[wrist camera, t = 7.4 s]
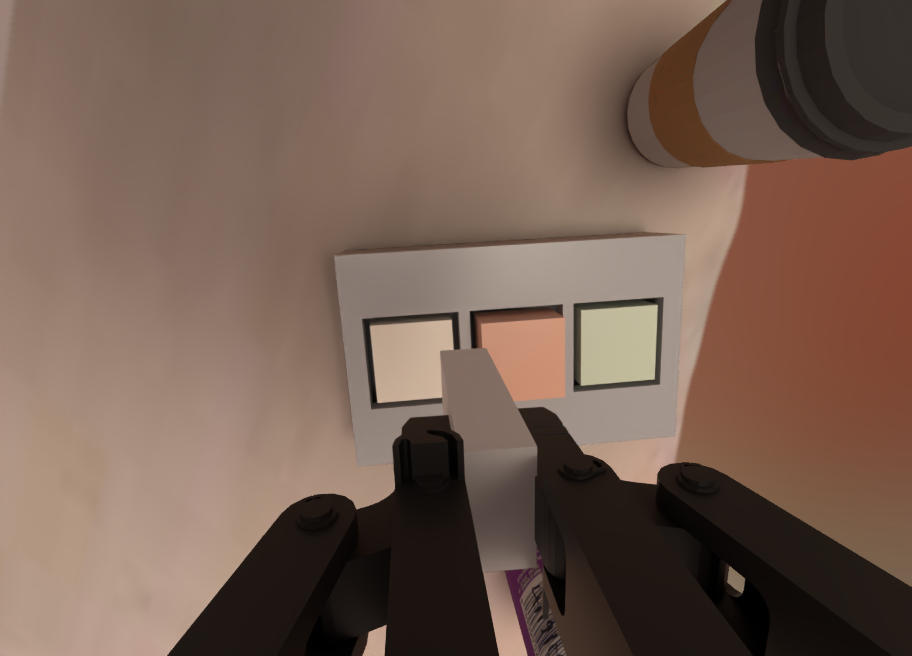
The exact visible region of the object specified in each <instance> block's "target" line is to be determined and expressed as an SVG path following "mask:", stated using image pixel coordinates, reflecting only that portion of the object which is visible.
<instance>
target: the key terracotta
mask: <svg viewBox="0 0 912 656" xmlns="http://www.w3.org/2000/svg"><path fill="white" fill-rule="evenodd" d="M474 327H475V348H487V350H488V352H489V354H490V356H491V358H492V360H493V362H494V364H495V366H496V368H497V370H498V372H499V374H500V375H501V377H502V379H503V381H504V383H505V385H506V387H507V389H508V391H509V393H510V395H511V397H512V399H513V401H526V400H537V399H549V398H560V397H565V317H563V316H562V315H560V314H558V313H557V312H555V311H554V310H552V309H551V308H549V307H547V308H534V309H520V310H506V311H492V312H478V313H474Z"/></svg>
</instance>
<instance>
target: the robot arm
mask: <svg viewBox="0 0 912 656" xmlns="http://www.w3.org/2000/svg"><path fill="white" fill-rule="evenodd" d="M440 361H441V382H442V403H443V415H440V416H425V417H411V418H410V419H409V420H408V421H407V422H406V423H405V424H404V425H403V426H402V434H401V435H400V436H399V437H397V438H396V439H395V441H394V443H393V445H392V451H393V463H394V476H395V490H394V492H393V493H392V494H390V495H389V496H388V497H387V498H385V499H383V500H382V501H380V502H378V503H375V504H373V505H370V506H367V507H364V508H360V509H357V510H356V508H355V505H354V503H353V501H351V500H350V499H348V498H347V497H345V496H342V495H337V494H318V495H314V496H310V497H307V498H304V499H302V500H300V501H298V502H296V503H294V504H292V505H290V506H289V507H288V508H287V509H286V510H285V511H284V512H283V513H281V515H280V516H279V517H278V518H277V520H276V521H275V522H274V523H273V525H272V526H271V527H270V528H269V530H268V531H267V532H266V533H265V534H264V536H263V537H262V538H261V539H260V541H259V542H258V543H257V544H256V546H255V547H254V548H253V549H252V551H251V552H250V553H249V554H248V556H247V557H246V558H245V559H244V561H243V562H242V563H241V564H240V566H239V567H238V568H237V569H236V571H235V572H234V573H233V574H232V576H231V577H230V578H229V579H228V581H227V582H226V583H225V584H224V586H223V587H222V588H221V589H220V590H219V592H218V593H217V594H216V595H215V597H214V598H213V599H212V600H211V602H210V603H209V604H208V605H207V607H206V608H205V609H204V610H203V612H202V613H201V614H200V615H199V617H198V618H197V619H196V620H195V622H194V623H193V624H192V625H191V627H190V628H189V629H188V630H187V632H186V633H185V634H184V635H183V637H182V638H181V639H180V640H179V641H178V643H177V644H176V645H175V646H174V648H173V649H172V650H171V651H170V653H169V654H168V655H167V656H362V655H363V653H364V650H365V647H366V645H367V639H368V633H369V632H370V631H372V630H375V629H377V628H379V627H382V626H384V625H387V627H386V643H385V656H499V653H498V648H497V643H496V637H495V632H494V627H493V622H492V617H491V611H490V606H489V601H488V596H487V591H486V586H485V580H484V575H483V573H485V572H495V571H505V570H516V569H526V568H536V565H537V547H538V550H539V553H540V556H541V558H542V561H543V570H542V614H543V620H544V619H549V607H550V609H551V612H552V615H553V617H554V620H555V623H556V626H557V629H558V632H559V635H560V638H561V641H562V644H563V647H564V650H565V653H566V656H912V587H911V586H909V585H907V584H905V583H904V582H902V581H901V580H899V579H897V578H895V577H894V576H892V575H891V574H889V573H887V572H886V571H884V570H882V569H881V568H879V567H878V566H876V565H874V564H872V563H871V562H869V561H868V560H866V559H864V558H863V557H861V556H859V555H858V554H856V553H854V552H853V551H851V550H849V549H848V548H846V547H844V546H843V545H841V544H839V543H838V542H836V541H834V540H833V539H831V538H830V537H828V536H826V535H825V534H823V533H821V532H820V531H818V530H816V529H815V528H813V527H811V526H810V525H808V524H806V523H805V522H803V521H801V520H800V519H798V518H796V517H795V516H793V515H792V514H790V513H788V512H787V511H785V510H783V509H782V508H780V507H778V506H777V505H775V504H773V503H772V502H770V501H768V500H767V499H765V498H763V497H762V496H760V495H759V494H757V493H755V492H754V491H752V490H750V489H749V488H747V487H745V486H743V485H742V484H740V483H739V482H737V481H735V480H734V479H732V478H730V477H729V476H727V475H725V474H723V473H721V472H719V471H717V470H715V469H713V468H709V467H706V466H702V465H700V464H697V463H688V462H682V463H675V464H669V465H667V466H664V467H662V468H661V469H660V471H659V472H658V474H657V485H655V484H646V483H636V482H629V481H623V480H620V479H619V477H618V476H617V475H616V473H615V472H614V471H613V469H612V468H611V467H610V466H609V465H608V464H607V463H605V462H604V461H603V460H600V459H598V458H596V457H594V456H590V455H585V454H584V453H583V452H582V451H581V449H580V448H579V446H578V445H577V443H576V442H575V440H574V439H573V438H572V436H571V435H570V434H569V432H568V430H567V429H566V427H565V426H563V423H562V422H561V420H560V419H559V417H558V416H557V414H555V413H553V412H552V411H550V410H548V409H546V408H545V407H532V408H517V406H516V404H515V403H514V401H513V399H512V397H511V395H510V393H509V391H508V389H507V387H506V385H505V383H504V381H503V379H502V377H501V375H500V374H499V372H498V370H497V368H496V366H495V364H494V362H493V360H492V358H491V356H490V354H489V352H488V350H487V348H476V349H460V350H443V351H440ZM729 566H731V567H732V568H733V569H734V570H735V571H737V572H738V573H739V574H740V575H742V576H743V577H744V578H745V586H744V591H743V593H740V592H739V591H737V590H735V589H734V588H733V587H732V586H731V585H729V584H728V583H727V579H728V571H729Z"/></svg>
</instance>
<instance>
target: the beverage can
mask: <svg viewBox="0 0 912 656" xmlns="http://www.w3.org/2000/svg"><path fill="white" fill-rule="evenodd" d="M542 570H543V561H542V558H541V556H540V553H539V550H538V547H537V565H536V568H526V569H516V570H505V572H506V577H507V580H508V584H509V588H510V591H511V595H512V599H513V603H514V606H515V610H516V614H517V617H518V621H519V625H520V629H521V632H522V636H523V640H524V643H525V647H526V651H527V655H528V656H566V653H565V650H564V647H563V644H562V641H561V638H560V635H559V632H558V629H557V626H556V623H555V620H554V617H553V615H552V612H551V609H550V607H549V619H544V620H543V614H542Z"/></svg>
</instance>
